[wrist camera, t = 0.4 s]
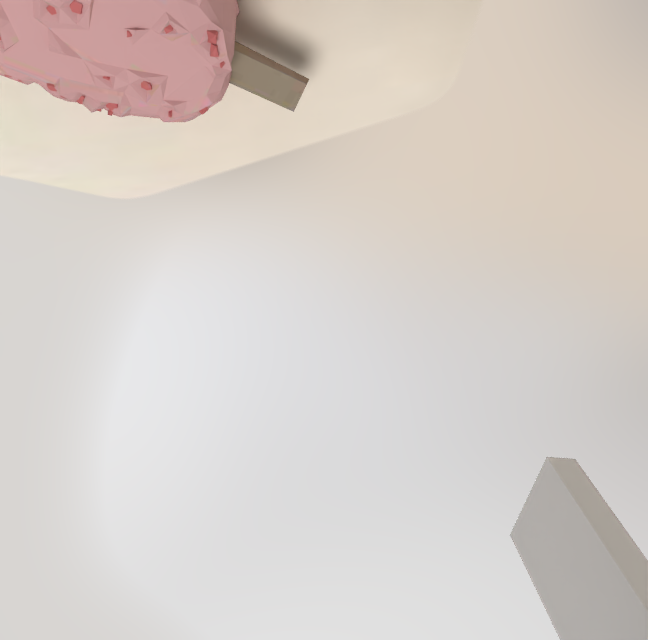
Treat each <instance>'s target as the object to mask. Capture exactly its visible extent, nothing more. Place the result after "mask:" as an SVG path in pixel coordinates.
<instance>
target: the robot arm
mask: <svg viewBox="0 0 648 640" xmlns="http://www.w3.org/2000/svg"><path fill="white" fill-rule="evenodd" d="M510 536H511V538H512V540H513V542H514V544H515V546H516V548H517V550H518V552H519V554H520V557H521V559H522V561H523V562H524V565H525V567H526V569H527V571H528V573H529V575H530V578H531V580H532V582H533V584H534V586H535V588H536V590H537V592H538V594H539V596H540V598H541V601H542V603H543V605H544V607H545V609H546V611H547V613H548V615H549V617H550V619H551V621H552V624H553V625H554V628H555V630H556V632H557V634H558V636H559V638H560V640H648V560H647V559H646V558H645V556H644V555H643V553H642V552H641V551H640V549H639V548H638V547H637V545H636V544H635V542H634V541H633V539H632V538H631V537H630V535H629V534H628V532H627V531H626V530H625V528H624V527H623V525H622V524H621V523H620V521H619V520H618V518H617V517H616V516H615V514H614V513H613V511H612V510H611V509H610V507H609V506H608V504H607V503H606V502H605V500H604V499H603V497H602V496H601V495H600V493H599V492H598V490H597V489H596V488H595V486H594V485H593V483H592V482H591V481H590V479H589V478H588V476H587V475H586V474H585V472H584V471H583V469H582V468H581V467H580V465H579V464H578V462H577V461H576V460H575V459H568V458H554V457H547V458H546V460H545V462H544V464H543V466H542V468H541V471H540V473H539V475H538V477H537V479H536V481H535V483H534V485H533V487H532V490H531V492H530V494H529V496H528V498H527V500H526V502H525V504H524V507H523V509H522V511H521V513H520V515H519V517H518V519H517V521H516V523H515V526H514V528H513V530H512V532H511V534H510Z"/></svg>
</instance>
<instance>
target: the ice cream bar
mask: <svg viewBox="0 0 648 640" xmlns="http://www.w3.org/2000/svg"><path fill="white" fill-rule="evenodd" d="M239 12H240V11H239V7H238V3H237V0H0V75H2V76H5V77H7V78H10V79H13V80H16V81H18V82H21V83H24V84H27V85H28V84H31V83H33V82H35V83H37V84H39V85H41V86H42V87H43V88H44V89H45V90H46V91H48V92H49V93H50V94H52V95H53V96H54V97H57V98H60V99H63V100H66V101H70V102H78V103H79V104H83V105H84V106H85V107H86V108H87V109H89V110H90V111H91V112H95V111H101V109H103V108H104V109H105V110H107V111H108V115H111V116H112V114H113V115H116V116H119V117H123V116H128V115H133V116H142V117H152V118H160V119H161V120H162V121H163V122H187V121H190V120H193V119H194V118H196V117H197V116H199V115H201V114H204V113H205V112H206V111H208V109H209V108H210V107H212V106H213V105H215V104H216V103H218V102H219V101H221V100H222V98H223V96H224V94H225V92H226V89H227V87H228V85H229V83H231V84H233V85H236V86H238V87H240V88H242V89H245V90H247V91H249V92H251V93H253V94H256V95H258V96H260V97H262V98H265V99H267V100H269V101H271V102H273V103H276V104H278V105H280V106H282V107H285V108H287V109H289V110H291V111H293V112H294V110H295V108H296V106H297V104H298V101H299V99H300V97H301V95H302V93H303V91H304V89H305V87H306V85H307V83H308V81H309V79H308V78H306V77H304V76H302V75H300V74H298V73H296V72H294V71H292V70H290V69H288V68H286V67H284V66H282V65H280V64H278V63H276V62H274V61H273V60H271V59H269V58H267V57H265V56H263V55H261V54H259V53H257V52H255V51H253V50H251V49H249V48H247V47H245V46H243V45H241V44H239V43H237V42H235V29H236V18H237V16H238V14H239Z"/></svg>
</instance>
